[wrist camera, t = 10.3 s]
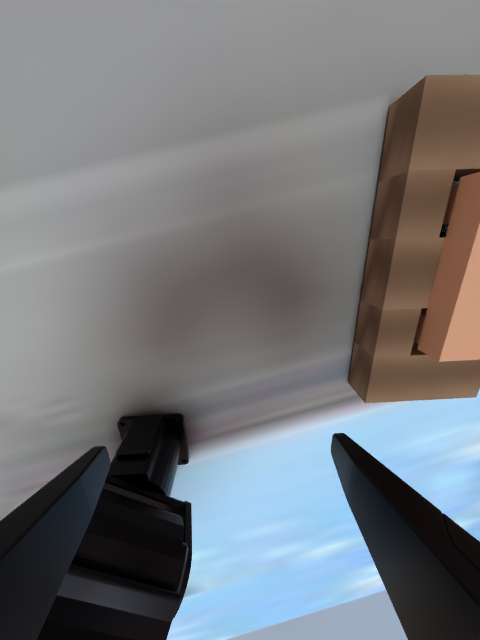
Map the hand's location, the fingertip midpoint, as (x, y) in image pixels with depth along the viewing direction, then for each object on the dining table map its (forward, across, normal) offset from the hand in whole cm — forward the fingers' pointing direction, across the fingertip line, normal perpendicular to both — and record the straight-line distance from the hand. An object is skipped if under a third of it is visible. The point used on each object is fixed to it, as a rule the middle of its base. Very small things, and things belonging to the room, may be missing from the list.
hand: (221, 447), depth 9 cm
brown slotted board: (+12, -17, -5) cm, 21 cm away
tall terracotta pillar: (+12, -17, -5) cm, 21 cm away
